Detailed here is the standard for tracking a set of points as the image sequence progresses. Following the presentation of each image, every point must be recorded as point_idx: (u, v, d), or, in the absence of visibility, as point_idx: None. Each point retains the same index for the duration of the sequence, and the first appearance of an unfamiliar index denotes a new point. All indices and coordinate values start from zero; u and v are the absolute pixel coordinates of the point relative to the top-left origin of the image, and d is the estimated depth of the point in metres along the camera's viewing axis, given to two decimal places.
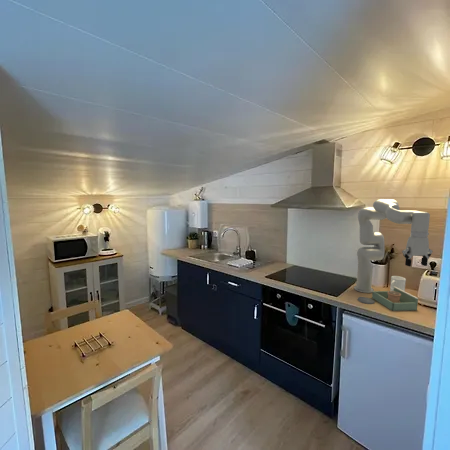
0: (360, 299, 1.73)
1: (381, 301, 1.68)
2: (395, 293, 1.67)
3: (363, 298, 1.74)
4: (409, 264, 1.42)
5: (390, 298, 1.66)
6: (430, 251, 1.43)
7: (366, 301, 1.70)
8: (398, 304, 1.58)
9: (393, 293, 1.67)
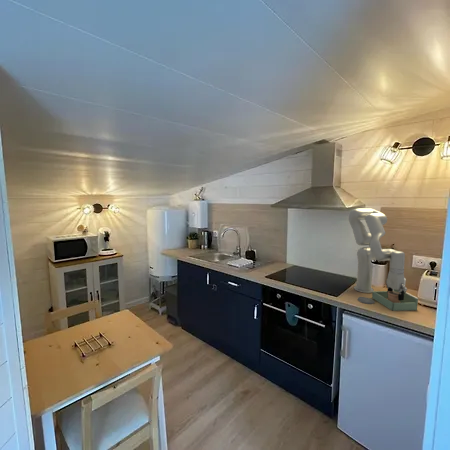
0: (360, 299, 1.73)
1: (381, 301, 1.68)
2: (395, 293, 1.67)
3: (363, 298, 1.74)
4: None
5: (390, 298, 1.66)
6: None
7: (366, 301, 1.70)
8: (398, 304, 1.58)
9: (393, 293, 1.67)
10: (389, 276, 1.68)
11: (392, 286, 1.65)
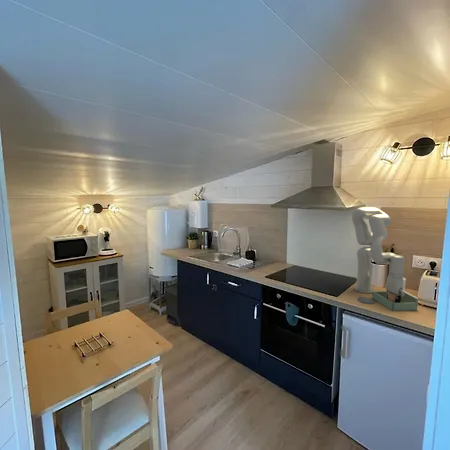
0: (360, 299, 1.73)
1: (381, 301, 1.68)
2: None
3: (363, 298, 1.74)
4: (399, 302, 1.64)
5: (390, 298, 1.66)
6: None
7: (366, 301, 1.70)
8: (398, 304, 1.58)
9: (393, 293, 1.67)
10: (388, 280, 1.69)
11: (391, 290, 1.66)
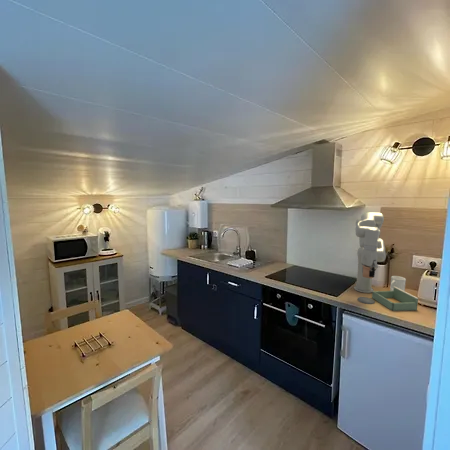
0: (360, 299, 1.73)
1: (381, 301, 1.68)
2: None
3: (363, 298, 1.74)
4: (373, 275, 1.66)
5: (365, 271, 1.68)
6: None
7: (366, 301, 1.70)
8: (398, 304, 1.58)
9: (368, 266, 1.68)
10: (363, 253, 1.71)
11: (365, 263, 1.68)
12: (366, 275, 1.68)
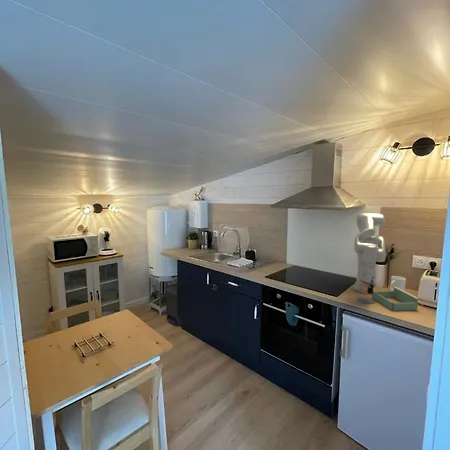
0: (360, 299, 1.73)
1: (381, 301, 1.68)
2: None
3: (363, 298, 1.74)
4: None
5: (363, 287, 1.69)
6: None
7: (366, 301, 1.70)
8: (398, 304, 1.58)
9: None
10: (362, 269, 1.72)
11: (364, 279, 1.69)
12: (365, 292, 1.69)
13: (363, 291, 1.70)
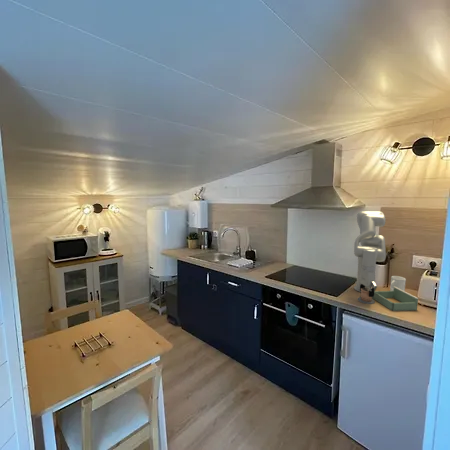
0: (360, 299, 1.73)
1: (381, 301, 1.68)
2: (368, 290, 1.70)
3: None
4: (373, 295, 1.66)
5: (363, 294, 1.70)
6: None
7: None
8: (398, 304, 1.58)
9: (366, 290, 1.70)
10: (361, 273, 1.72)
11: (364, 283, 1.70)
12: (364, 299, 1.70)
13: (363, 298, 1.70)
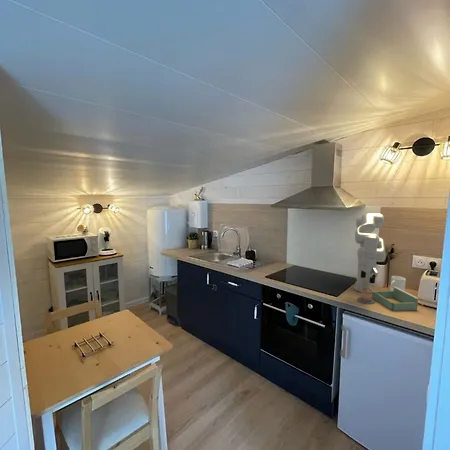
0: (360, 299, 1.73)
1: (381, 301, 1.68)
2: (368, 290, 1.70)
3: None
4: None
5: (363, 294, 1.70)
6: None
7: None
8: (398, 304, 1.58)
9: (366, 290, 1.70)
10: (362, 260, 1.71)
11: (364, 270, 1.69)
12: (364, 299, 1.70)
13: (363, 298, 1.70)
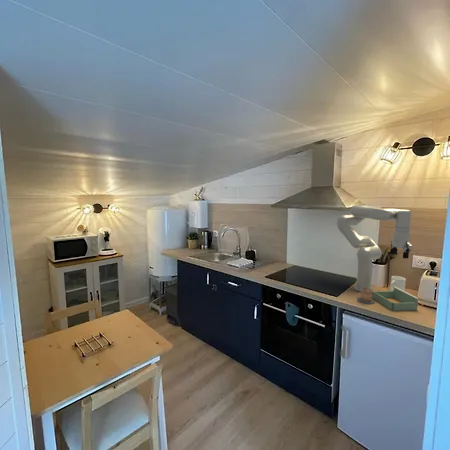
0: (360, 299, 1.73)
1: (381, 301, 1.68)
2: (368, 290, 1.70)
3: None
4: (407, 256, 1.62)
5: (363, 294, 1.70)
6: None
7: None
8: (398, 304, 1.58)
9: (366, 290, 1.70)
10: (394, 235, 1.67)
11: (397, 245, 1.65)
12: (364, 299, 1.70)
13: (363, 298, 1.70)
